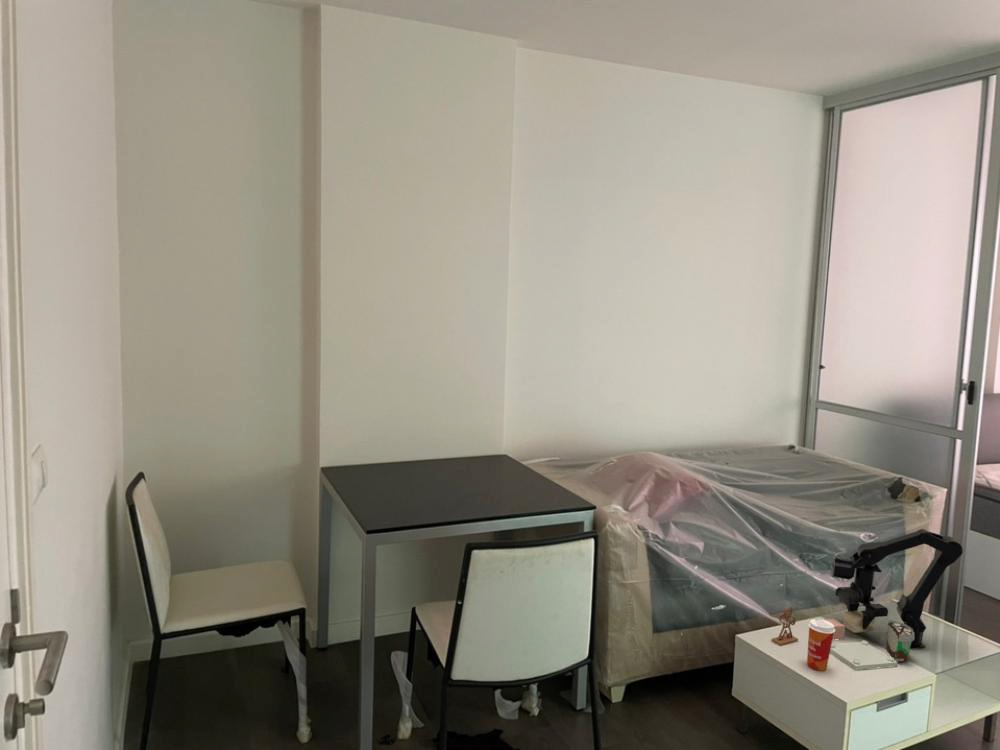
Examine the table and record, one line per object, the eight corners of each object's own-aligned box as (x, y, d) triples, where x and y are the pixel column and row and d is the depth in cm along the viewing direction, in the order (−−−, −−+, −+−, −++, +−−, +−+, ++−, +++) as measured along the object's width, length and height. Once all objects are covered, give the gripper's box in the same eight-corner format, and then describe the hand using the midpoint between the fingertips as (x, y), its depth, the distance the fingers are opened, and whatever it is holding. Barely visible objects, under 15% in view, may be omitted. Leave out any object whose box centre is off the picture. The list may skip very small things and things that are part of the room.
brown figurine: (788, 636, 258) (792, 602, 257) (798, 641, 255) (802, 607, 254) (770, 641, 254) (775, 606, 252) (780, 646, 251) (784, 611, 249)
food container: (916, 668, 242) (921, 638, 241) (895, 665, 243) (899, 635, 242) (904, 650, 254) (908, 622, 253) (884, 647, 255) (888, 619, 254)
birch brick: (861, 624, 268) (863, 610, 267) (873, 631, 263) (875, 617, 262) (842, 625, 265) (844, 611, 265) (853, 632, 260) (855, 618, 260)
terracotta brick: (832, 632, 264) (833, 618, 264) (843, 640, 259) (845, 625, 259) (812, 633, 262) (814, 619, 262) (823, 641, 257) (825, 627, 256)
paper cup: (798, 660, 242) (804, 617, 240) (822, 660, 242) (827, 618, 241) (811, 672, 234) (816, 629, 232) (835, 673, 235) (840, 629, 233)
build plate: (864, 645, 255) (865, 639, 255) (897, 666, 242) (898, 659, 242) (824, 649, 251) (825, 642, 251) (855, 670, 238) (856, 663, 237)
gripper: (825, 572, 269) (819, 614, 270) (864, 593, 251) (858, 639, 253) (851, 571, 272) (846, 613, 274) (892, 592, 254) (885, 637, 256)
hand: (857, 625), depth 264 cm, fingers closed on birch brick, 5 cm apart
